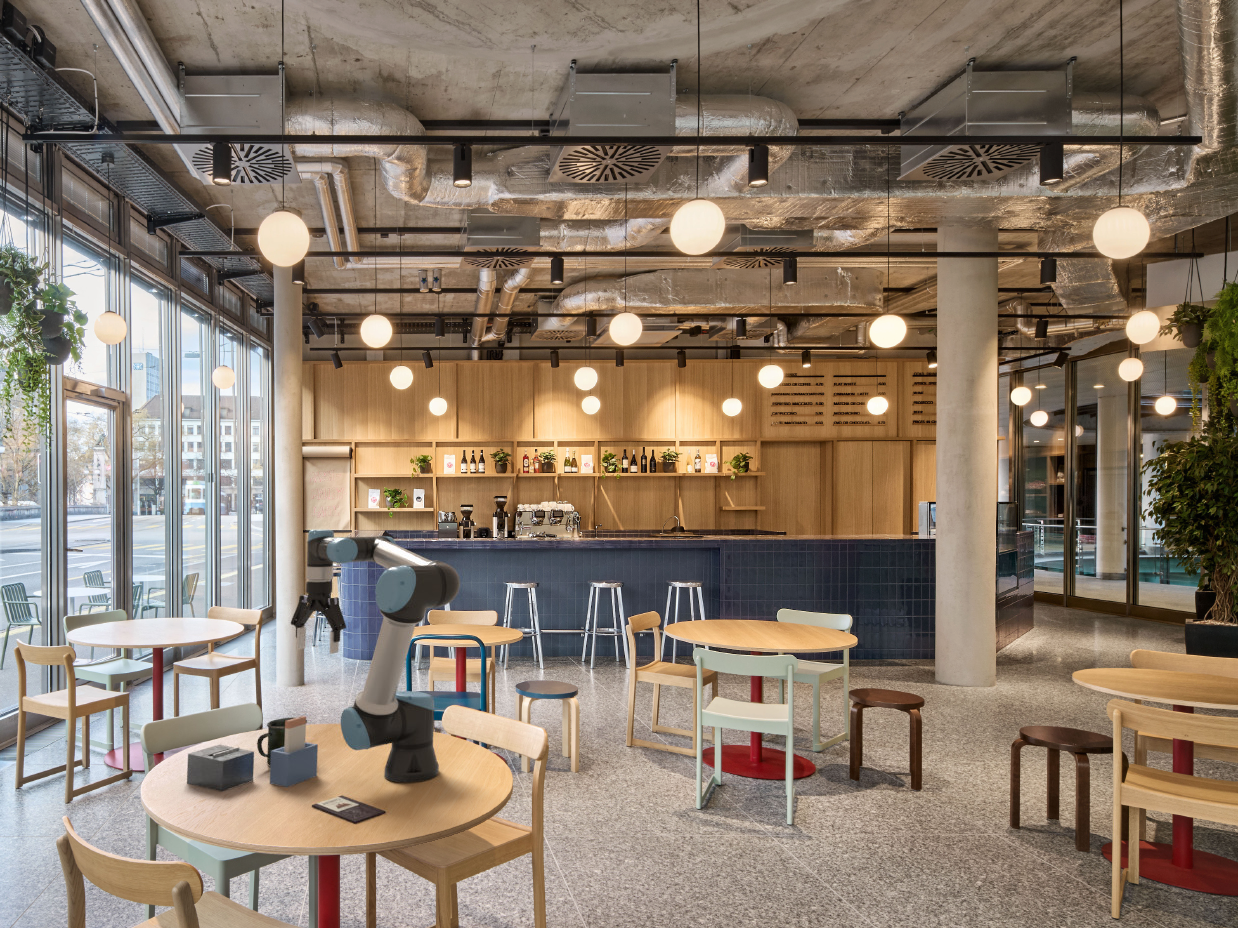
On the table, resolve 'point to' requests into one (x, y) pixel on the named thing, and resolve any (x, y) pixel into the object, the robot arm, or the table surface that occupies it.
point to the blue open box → (293, 765)
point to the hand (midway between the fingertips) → (317, 650)
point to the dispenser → (220, 767)
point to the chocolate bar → (348, 809)
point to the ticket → (295, 734)
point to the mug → (273, 737)
